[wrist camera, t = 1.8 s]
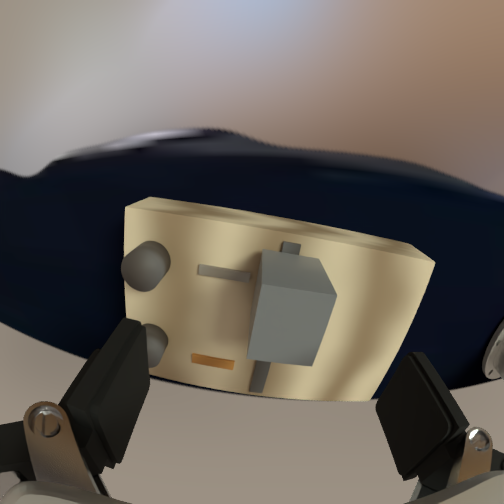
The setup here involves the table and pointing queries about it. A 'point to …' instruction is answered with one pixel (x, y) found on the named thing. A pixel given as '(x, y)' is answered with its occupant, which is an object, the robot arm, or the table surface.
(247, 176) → the table surface
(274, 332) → the fader tab
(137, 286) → the fader console
